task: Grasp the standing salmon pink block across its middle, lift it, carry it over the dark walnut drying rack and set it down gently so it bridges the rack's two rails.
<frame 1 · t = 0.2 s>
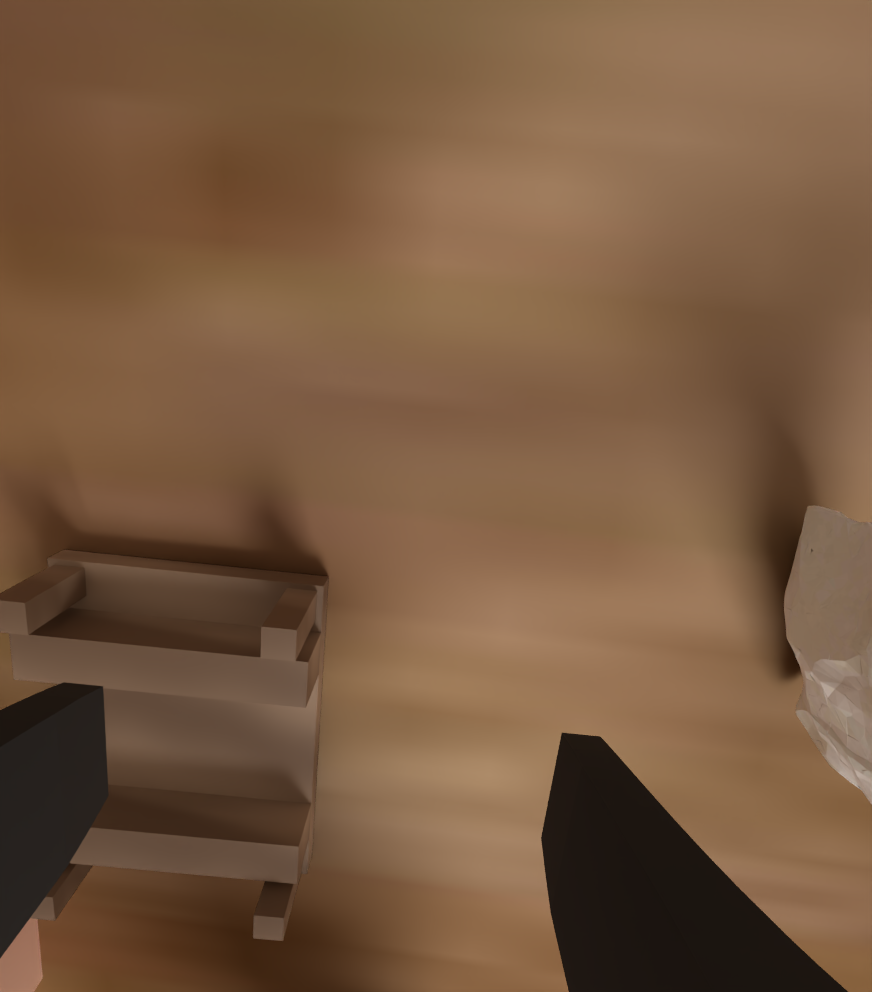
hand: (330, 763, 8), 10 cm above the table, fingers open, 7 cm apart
rack: (197, 714, 20), on the table
stone tool: (787, 607, 19), on the table
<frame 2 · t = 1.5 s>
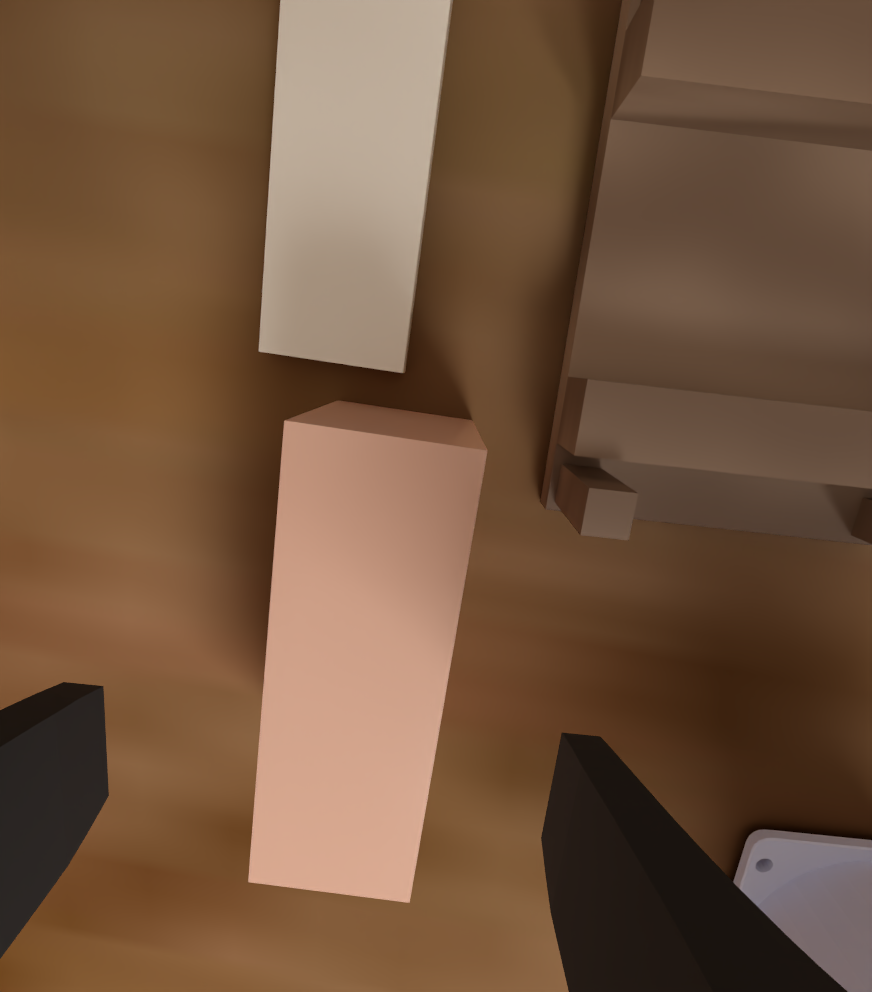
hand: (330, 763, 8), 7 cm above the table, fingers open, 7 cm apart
rack: (764, 282, 13), on the table
salmon pink block: (382, 585, 15), on the table
fired strip: (361, 149, 13), on the table
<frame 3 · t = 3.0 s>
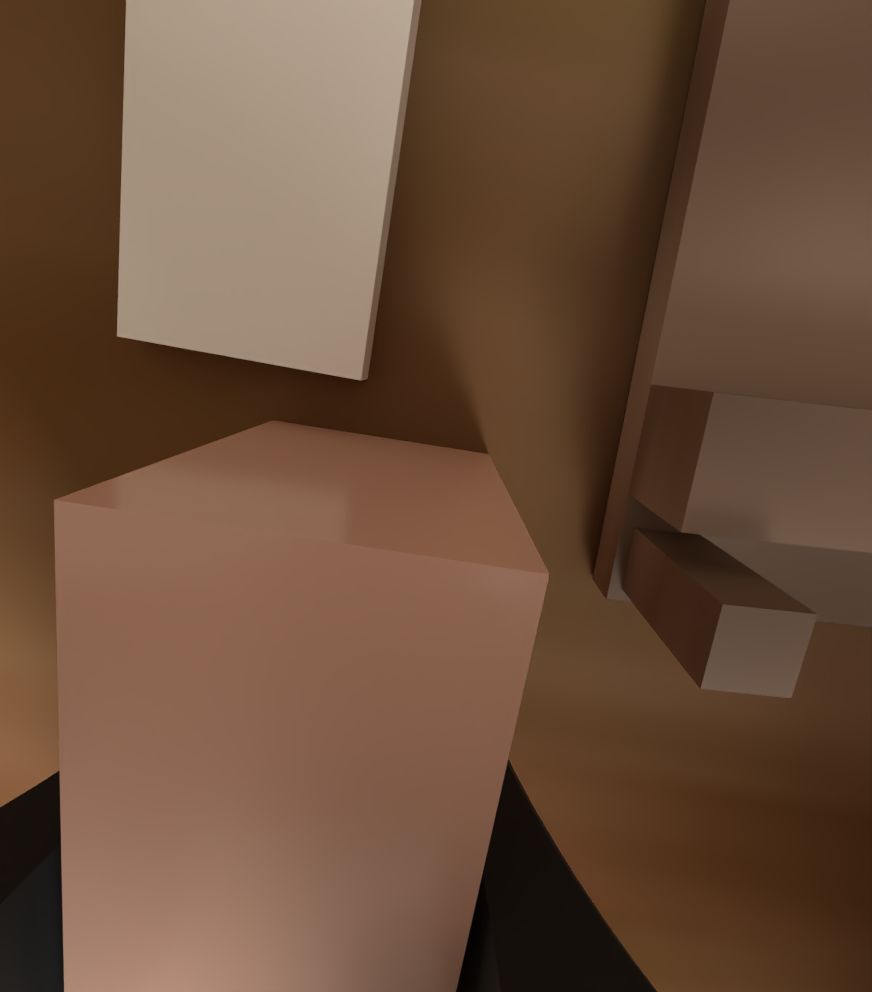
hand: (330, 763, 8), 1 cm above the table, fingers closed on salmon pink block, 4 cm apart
salmon pink block: (346, 705, 10), on the table, touching gripper
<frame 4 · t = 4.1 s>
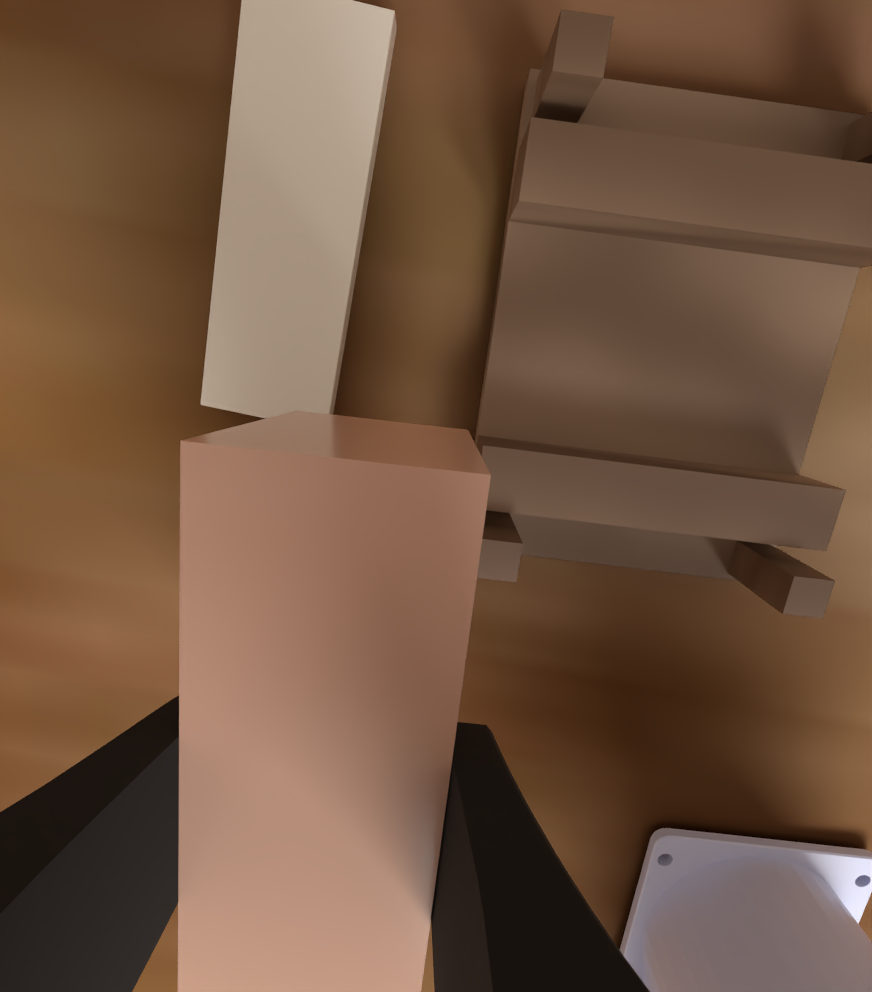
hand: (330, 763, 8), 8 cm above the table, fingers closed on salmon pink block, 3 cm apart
rack: (650, 355, 15), on the table
salmon pink block: (362, 643, 12), point 5 cm above the table, touching gripper
fired strip: (300, 234, 15), on the table
when the fingers open (8 cm above the table, at t = 4.4 s): salmon pink block drops 1 cm, resting on rack.
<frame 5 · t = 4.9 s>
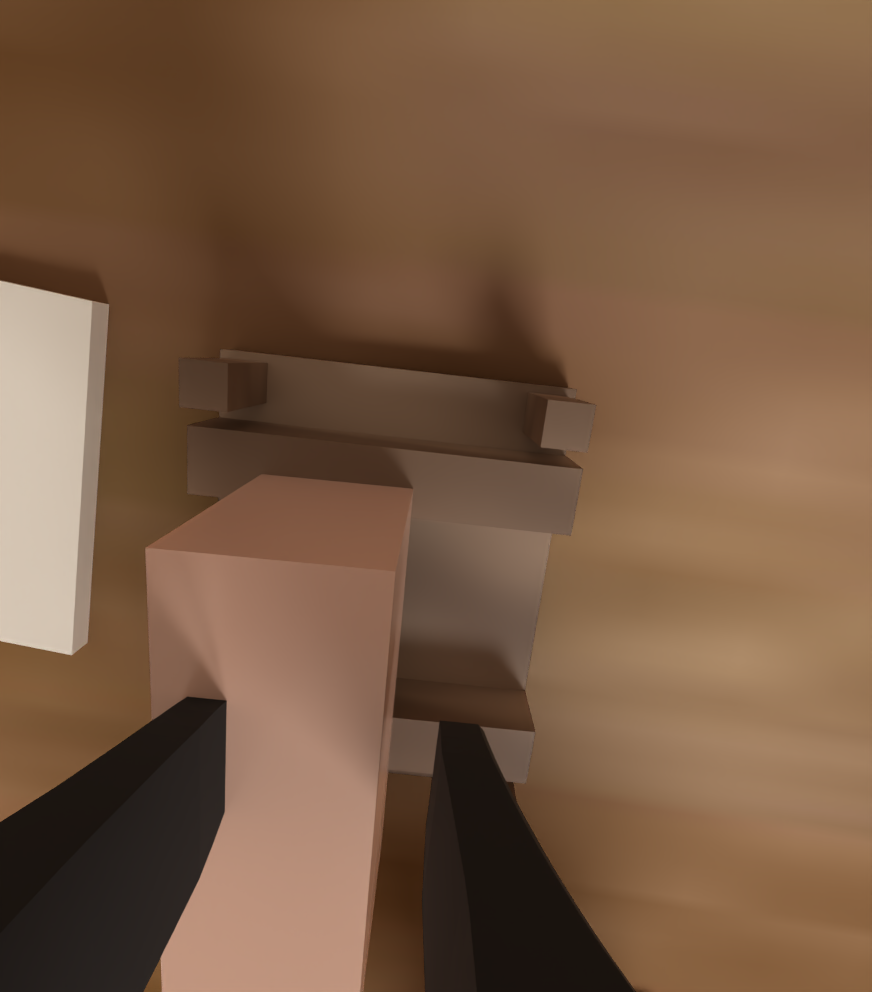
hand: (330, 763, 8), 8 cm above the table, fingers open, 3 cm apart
rack: (382, 578, 16), on the table
salmon pink block: (327, 673, 14), point 3 cm above the table, touching gripper, rack
fired strip: (47, 470, 16), on the table
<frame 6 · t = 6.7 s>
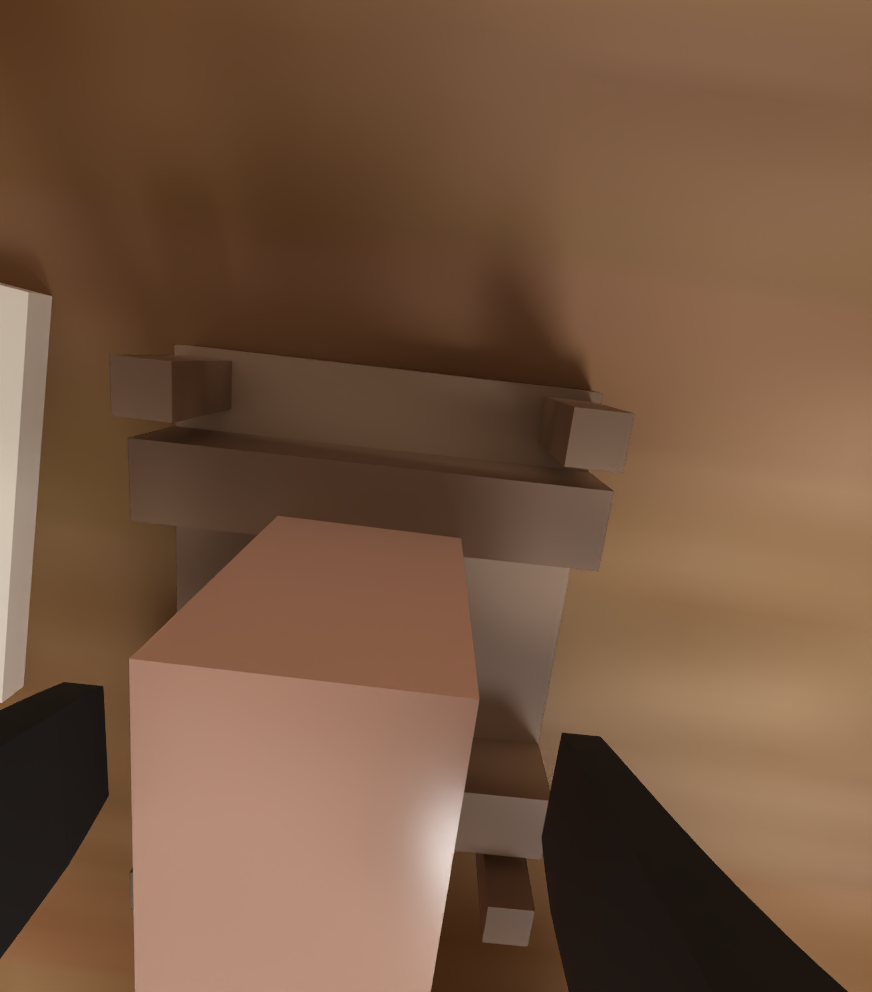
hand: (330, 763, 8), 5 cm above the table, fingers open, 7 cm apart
rack: (371, 612, 13), on the table
salmon pink block: (347, 749, 11), point 3 cm above the table, touching rack
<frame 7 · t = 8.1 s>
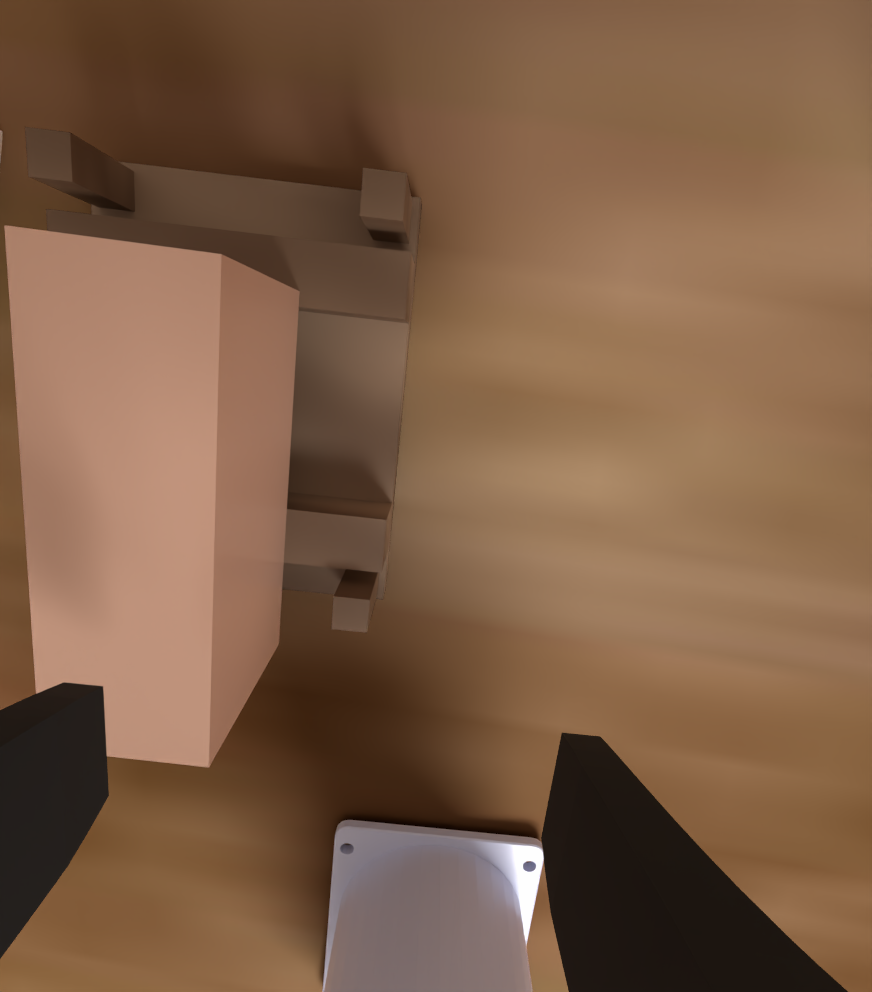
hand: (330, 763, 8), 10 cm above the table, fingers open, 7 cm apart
rack: (259, 398, 17), on the table
salmon pink block: (224, 474, 15), point 3 cm above the table, touching rack
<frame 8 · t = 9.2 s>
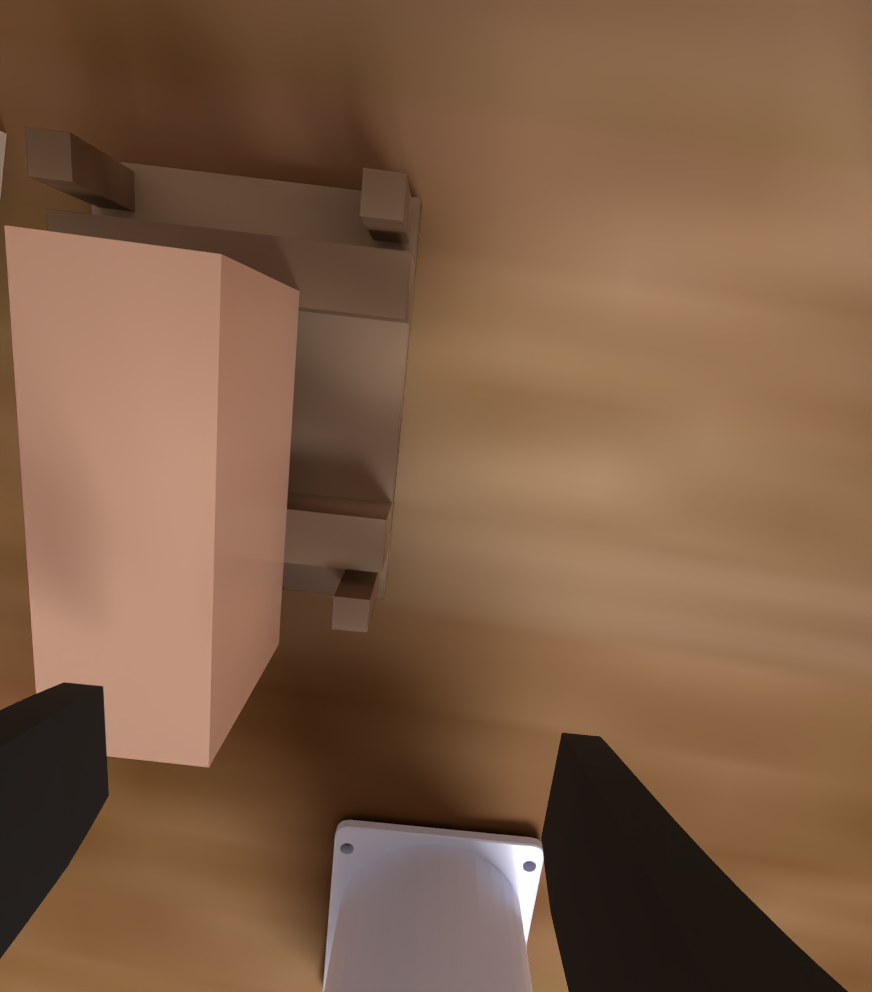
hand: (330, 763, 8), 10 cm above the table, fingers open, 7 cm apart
rack: (259, 398, 17), on the table
salmon pink block: (224, 474, 15), point 3 cm above the table, touching rack
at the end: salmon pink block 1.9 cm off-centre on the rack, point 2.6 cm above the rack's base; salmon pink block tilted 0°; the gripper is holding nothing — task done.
